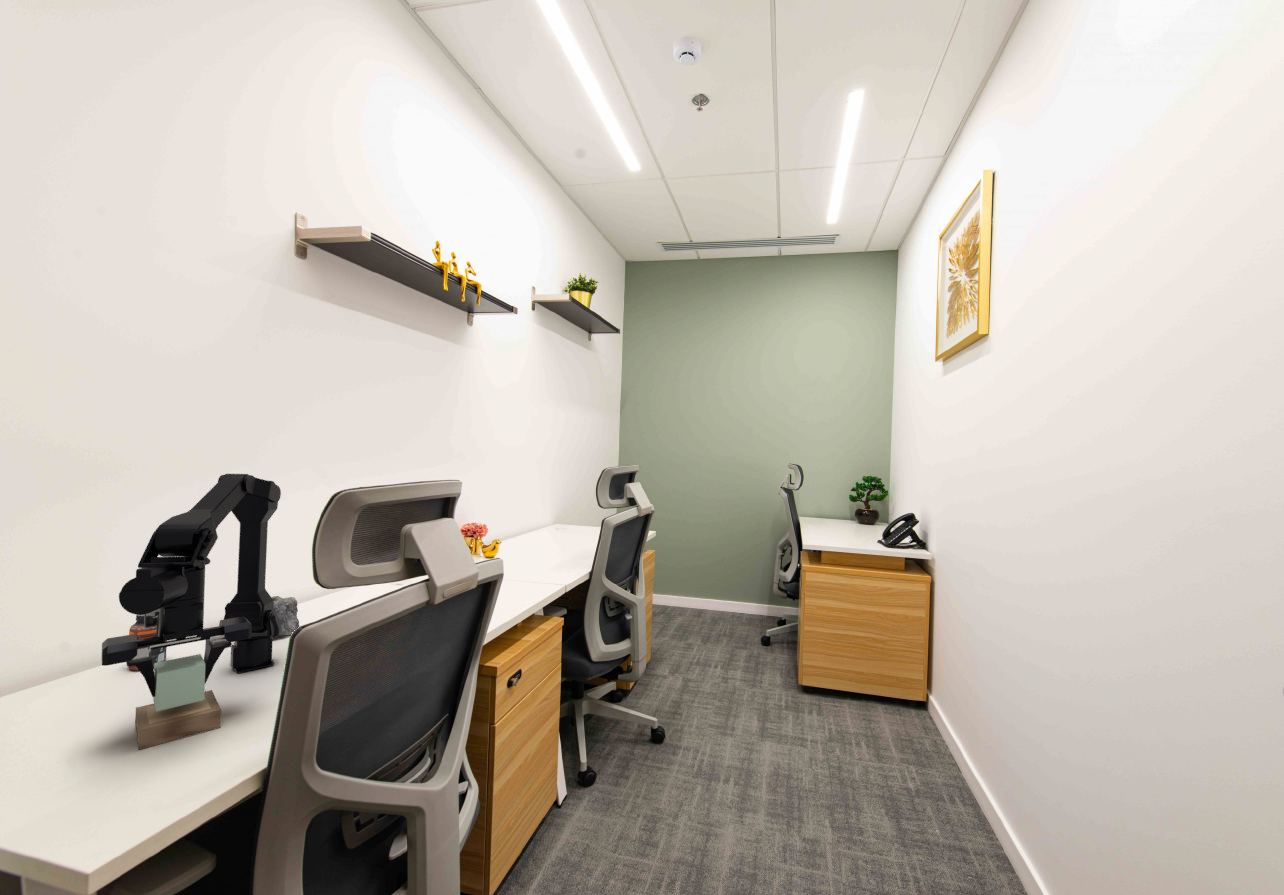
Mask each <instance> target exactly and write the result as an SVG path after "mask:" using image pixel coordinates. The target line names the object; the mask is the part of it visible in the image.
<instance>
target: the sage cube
mask: <svg viewBox="0 0 1284 895" xmlns="http://www.w3.org/2000/svg"><path fill="white" fill-rule="evenodd" d="M154 675H155V682H156V691H155V697H152V699H153V700H152V701H153V704H154V705H155V710H156V712H157V711H161V710H165V709H169V708H173V707H177V706H182V705H186V704H190V703H194V702H198V701H202V700H204V692H205V689H206V688H205V686H206V683H205V662H204V657H203V656H202V654H201V653H199V654H194V655H188V656H183V657H182V656H181V657H178V658H173V659H166V661H162V662H157V663H154Z"/></svg>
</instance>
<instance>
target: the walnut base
mask: <svg viewBox="0 0 1284 895" xmlns="http://www.w3.org/2000/svg"><path fill="white" fill-rule="evenodd" d="M221 713H222V708H221V707H220V705H219V702H218V701H217V698H216V696H215V693H214V691H213V690H212V689H211V690H206V691H205V692H204V700H202V701H198V702H194V703H190V704H186V705H182V706H177V707H173V708H169V709H165V710H161V711H157V712H156V710H155V705H154V703H149V704H145V705H142V706H137V707H135V717H134V721H135V722H134V726H135V728H134V729H135V734H136V742H137V748H138V749H137V750H138V751H139V750H143V749H146V748H150V747H154V746H158V745H162V744H165V743H169V742H173V741H176V740H179V739H182V738H183V739H184V738H186V737H191V736H193V735H194V736H195V735H198V734H201V733H205V732H209V731H212V730H216V729H219V728H221V722H222V721H221V717H222V716H221V715H222V714H221Z"/></svg>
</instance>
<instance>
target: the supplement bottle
mask: <svg viewBox="0 0 1284 895" xmlns="http://www.w3.org/2000/svg"><path fill="white" fill-rule="evenodd" d="M135 621H136V622H134V624H132V625H131V626H130V627H129V631H128V632H129V633H128V635H132V634H136V637H137V640H140V639H146V638H152V637H158V634H157V632H156V630H157V627H150V628H144V615H137V614H135ZM165 642H166V641H165ZM150 653H151V656H152V661H153V668H154V663H157V662H162V661H167V647H163V648H157V649H152V650H151V652H150ZM127 667H128V668H127V669H129V670H130V671H139V670H138V668H137V667H136V666H127ZM139 672H140V671H139Z"/></svg>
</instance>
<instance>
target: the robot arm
mask: <svg viewBox="0 0 1284 895" xmlns="http://www.w3.org/2000/svg"><path fill="white" fill-rule="evenodd" d="M217 480H218V481H217V483H216V484H214V486H213V487H212V488H210V489H209V491H208V492H206V494H205V495H203V496H202V498H201V499H200V500H199V501H198V502H197V503H195V505H193V507H192V508H191V509H189V510H188V511H186V512H183V513H179V514H176V515H173V516H171V517H170V518H168V519H166V520H165V521H163V522H162V523H161V524H159V525H158V526H157V528H156V529H155V531H154V532H153V533H152V535H151V537H150V539H149V541H148V543H147V545H146V547H145V549H144V551H143V553H142V556H141V558H140V561H139V562H138V564H137V567H138V568H137V569H136V570H135V577H134V578H132V579H129V580H128V581H127V582H125V584H124V585H123V586H122V587H121V590H120V592H119V593H118V600H119V604H120V606H121V607H122V608H123V610H124V611H127V612H128V613H130V614H132V615H144V628H150V627H157V630H156V632H157V634H158V637H152V638H146V639H140V640H137V637H136V634H132V635H129V634H126V635H121V636H114V637H108V638H106V639H105V640H104V641H103V642H102V643H101V666H104V667H105V666H112V665H117V664H121V663H126V666H127V667H128V666H136V667H137V668H138V670H139V672H140V674H141V675H142V677H143V678H144V681H145V683H146V685H147V687H148V689H149V692H150V695H151V696H152V698H153V697H155V691H156V682H155V675H154V668H153V661H152V656H151V653H150V652H151V650H152V649H157V648H163V647H166V648H168V647H173V646H180V645H185V644H190V643H195V642H200V641H201V642H202V641H205V649H204V656H203V660H204V662H205V684H206V683H207V681H208V679H209V677H210V676H211V673H212V671H213V668H214V667H215V665H216V664H217V661H218V660H219V658H220V656H221V655H222V654H223V651H224V650H225V649H227V648H230V667H231V668H232V669H233V670H234V671H235V673H236V674H241V673H245V672H249V671H254V670H259V669H263V668H268V667H272V666H274V665H275V662H274V661H273V638H275V637H280V636H279V635H280V630H281V624H282V622H281V620H280V619H279V617H278V615H277V614H276V612H275V610H274V602H273V599H272V598H271V597H272V596H271V595H270V594H269V592H268V590H267V589H266V575H267V574H266V572H267V570H266V569H267V551H268V550H267V549H268V548H267V547H268V545H267V544H268V525H269V524H268V523H269V520H271V518H272V516H273V515H274V514H275V512H276V511H277V510H278V507H279V506H278V505H279V501H280V499H281V495H282V492H281V491H282V490H281V487H280V486H279V485H277V484H276V483H275V481H273V480H267V479H262V478H258V477H255V476H254V475H252V474H248V473H225V474H221V475H220V476H219V477H218V479H217ZM231 512H232V514H233V515H234V517H235V518H236V520H237V521H238V522H239V539H238V540H239V543H238V561H237V562H238V564H237V566H238V568H237V587H236V588H237V589H236V594H235V595H234V596H233V597H232V599H231V601H230V602H227V603H226V605H225V607H224V617H223V619H220V620H219V623H218V626H214V627H213V626H212V627H207V628H206V627H205V628H204V619H205V618H204V614H205V613H204V610H205V588H206V587H205V584H206V580H205V578H206V566H207V565H210V563H211V559H210V558H209V554H210V552H211V550H213V547H214V545H216V542H217V540H218V539H219V537H218V533H217V528H218V527H219V525H220V524H221V523H222V522H223V521H224V520H225V518H226V517H228V515H229V514H230V513H231ZM165 641H166V642H165ZM233 642H234V644H232V643H233Z"/></svg>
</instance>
